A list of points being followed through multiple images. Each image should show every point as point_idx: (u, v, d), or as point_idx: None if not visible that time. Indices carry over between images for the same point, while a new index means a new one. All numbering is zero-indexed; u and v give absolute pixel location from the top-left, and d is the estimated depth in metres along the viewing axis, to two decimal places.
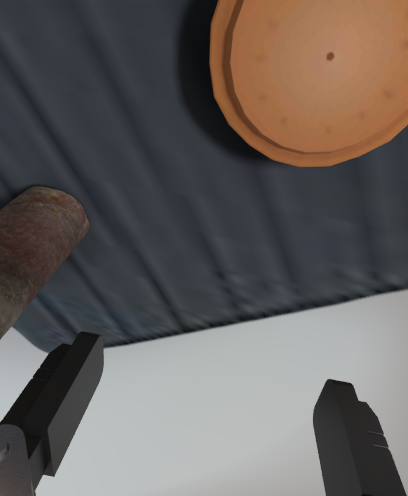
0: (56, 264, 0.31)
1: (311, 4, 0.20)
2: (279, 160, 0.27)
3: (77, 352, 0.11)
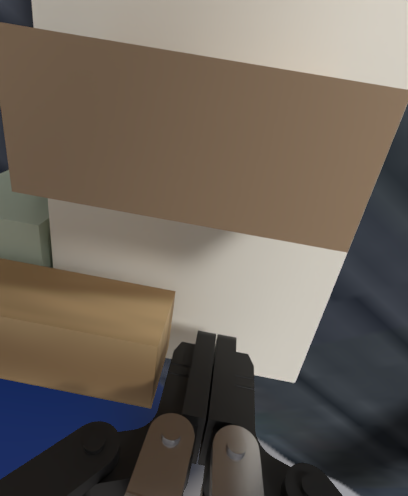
0: None
1: None
2: None
3: (203, 350, 0.12)
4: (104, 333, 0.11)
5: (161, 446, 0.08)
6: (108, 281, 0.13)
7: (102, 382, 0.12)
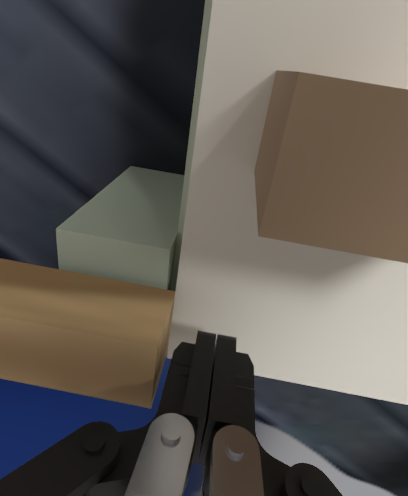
0: None
1: None
2: None
3: (203, 350, 0.12)
4: (104, 333, 0.11)
5: (161, 446, 0.08)
6: (108, 281, 0.13)
7: (102, 382, 0.12)
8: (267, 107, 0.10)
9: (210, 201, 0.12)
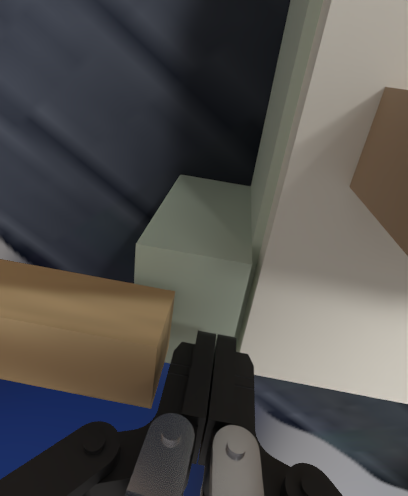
0: None
1: None
2: None
3: (203, 350, 0.12)
4: (103, 333, 0.11)
5: (161, 446, 0.08)
6: (108, 282, 0.13)
7: (102, 382, 0.12)
8: (371, 123, 0.10)
9: (299, 216, 0.12)
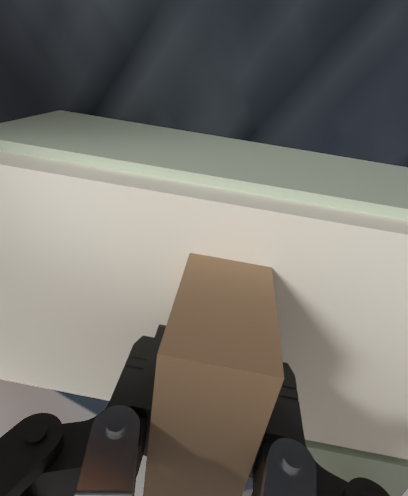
0: None
1: None
2: None
3: None
4: None
5: (104, 437, 0.08)
6: None
7: None
8: None
9: None
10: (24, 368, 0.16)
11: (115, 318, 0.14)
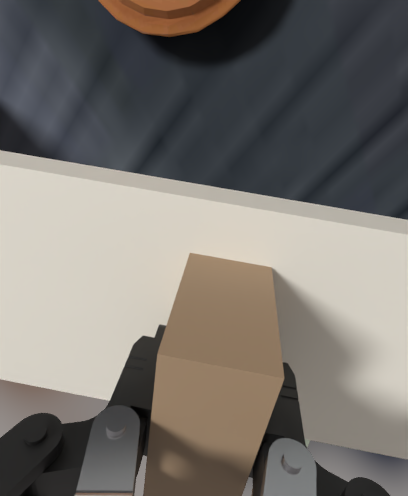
0: None
1: None
2: None
3: None
4: None
5: (104, 437, 0.08)
6: None
7: None
8: None
9: None
10: (24, 368, 0.16)
11: (115, 318, 0.14)
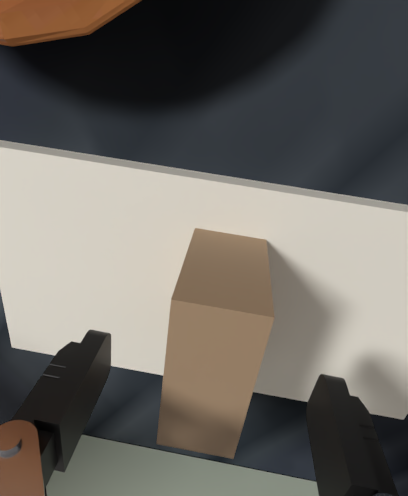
0: None
1: None
2: None
3: (86, 350, 0.11)
4: None
5: None
6: None
7: None
8: None
9: (257, 382, 0.18)
10: (46, 338, 0.18)
11: (129, 290, 0.16)
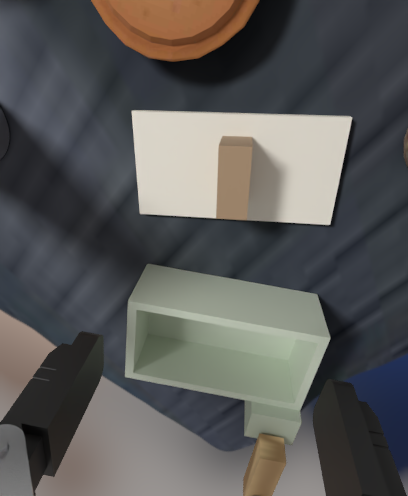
0: None
1: None
2: None
3: (77, 352, 0.11)
4: (256, 465, 0.40)
5: None
6: (254, 447, 0.42)
7: (275, 470, 0.39)
8: None
9: (258, 214, 0.38)
10: (157, 205, 0.39)
11: (195, 171, 0.37)
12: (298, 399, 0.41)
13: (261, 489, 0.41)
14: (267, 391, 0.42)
